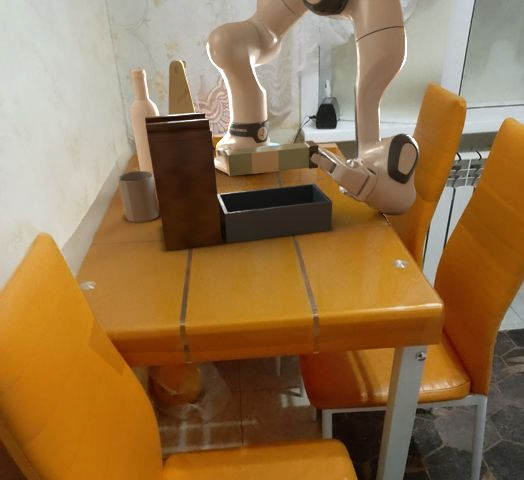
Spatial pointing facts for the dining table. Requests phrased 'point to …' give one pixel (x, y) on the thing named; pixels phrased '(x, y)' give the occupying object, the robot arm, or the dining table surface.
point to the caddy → (179, 90)
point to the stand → (185, 179)
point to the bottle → (142, 118)
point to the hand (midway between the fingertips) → (307, 152)
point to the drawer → (270, 158)
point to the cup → (139, 196)
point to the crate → (274, 212)
